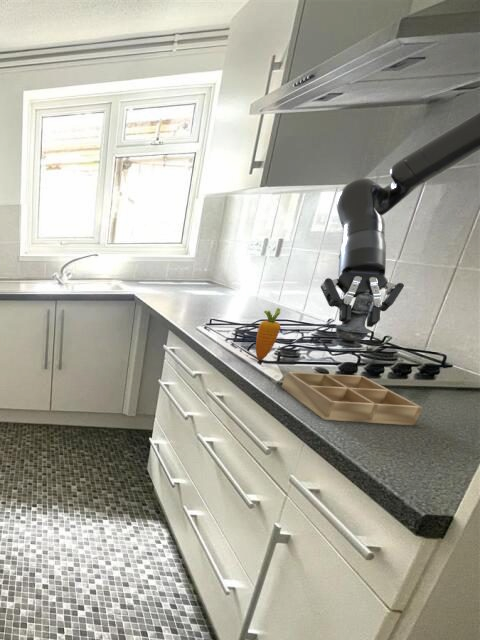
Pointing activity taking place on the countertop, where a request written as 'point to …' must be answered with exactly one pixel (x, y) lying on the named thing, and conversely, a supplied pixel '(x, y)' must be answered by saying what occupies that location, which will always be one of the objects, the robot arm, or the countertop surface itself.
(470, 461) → the countertop surface
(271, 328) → the carrot
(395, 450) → the countertop surface
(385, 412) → the wooden compartment tray
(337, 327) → the grey tall piece
